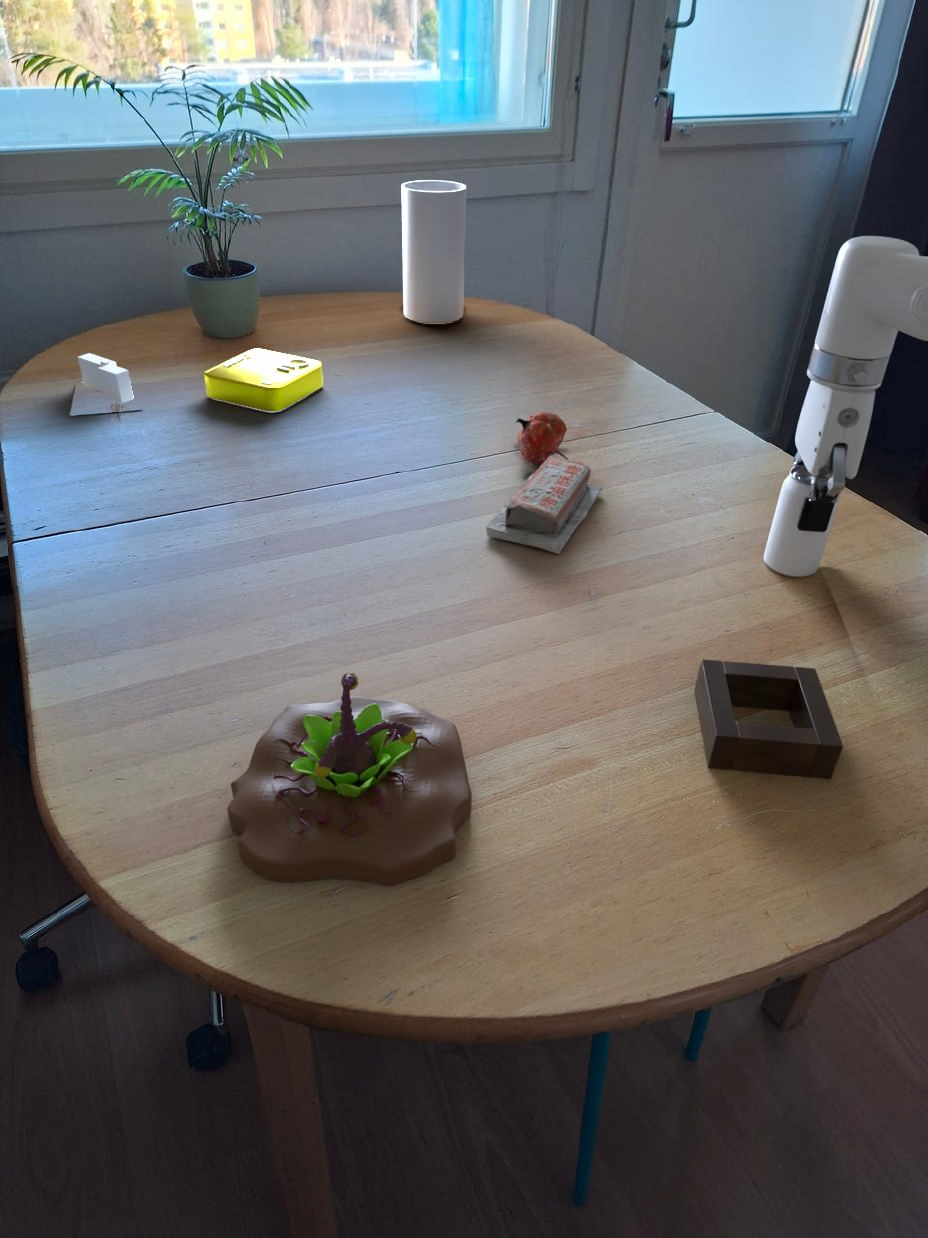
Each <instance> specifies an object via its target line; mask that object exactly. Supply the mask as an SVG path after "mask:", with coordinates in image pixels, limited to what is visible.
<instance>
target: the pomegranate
mask: <svg viewBox="0 0 928 1238" xmlns="http://www.w3.org/2000/svg"><path fill="white" fill-rule="evenodd" d="M517 423H520V424H521V425H520V428H519V429H518V432H517V433H518V434H517V443H518V450H519V452H520V454H521V456H522V457H523V458H524V459H525V460H526V461H527V462H528V463H532V464H535V465H542V464H543V463H544V462H545V461H546V460H547V459H548V457H550V455H554V454H558V455H560V456H561V457H562V458H563V459H566V460H567V459H568V460H570V459H569V458H568V457H566V456H565V455H564V454H563V453H562V452H561V451H559V447H560V446H561V445H562V443H563V440H564V437H565V435H566V432H567V431H568V428H567V425H566V423H565V422H564V420H563V419H562V418H561V417H560V416H558V415H557V414H556V413H553V412H552V413H551V412H545V411H541V412H539V413H536V414H532V415H530V416H528V418H527V419H525V420H524V419H522V418H520V417H518V418H517V419H516V421H515V424H517Z"/></svg>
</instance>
